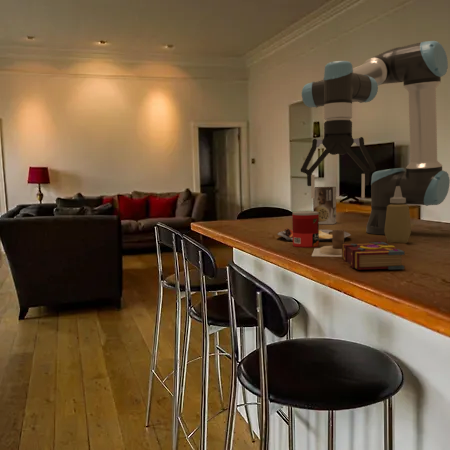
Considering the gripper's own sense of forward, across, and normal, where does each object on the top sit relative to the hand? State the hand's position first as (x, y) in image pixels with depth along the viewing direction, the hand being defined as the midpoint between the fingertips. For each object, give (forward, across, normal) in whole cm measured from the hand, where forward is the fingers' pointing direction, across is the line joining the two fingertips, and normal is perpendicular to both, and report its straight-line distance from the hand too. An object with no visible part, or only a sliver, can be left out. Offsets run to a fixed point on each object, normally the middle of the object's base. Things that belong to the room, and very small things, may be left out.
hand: (337, 198), depth 141 cm
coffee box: (+16, +7, -81) cm, 83 cm away
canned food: (+16, +10, -12) cm, 23 cm away
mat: (+16, 0, 0) cm, 16 cm away
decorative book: (+16, -8, +15) cm, 23 cm away
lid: (+15, 0, 0) cm, 15 cm away
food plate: (+16, +9, -32) cm, 37 cm away
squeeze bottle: (+16, -18, -23) cm, 34 cm away
